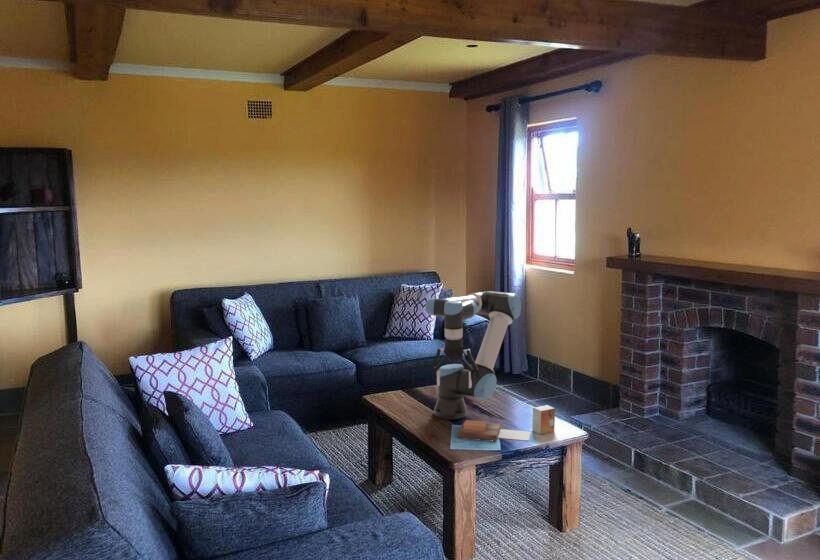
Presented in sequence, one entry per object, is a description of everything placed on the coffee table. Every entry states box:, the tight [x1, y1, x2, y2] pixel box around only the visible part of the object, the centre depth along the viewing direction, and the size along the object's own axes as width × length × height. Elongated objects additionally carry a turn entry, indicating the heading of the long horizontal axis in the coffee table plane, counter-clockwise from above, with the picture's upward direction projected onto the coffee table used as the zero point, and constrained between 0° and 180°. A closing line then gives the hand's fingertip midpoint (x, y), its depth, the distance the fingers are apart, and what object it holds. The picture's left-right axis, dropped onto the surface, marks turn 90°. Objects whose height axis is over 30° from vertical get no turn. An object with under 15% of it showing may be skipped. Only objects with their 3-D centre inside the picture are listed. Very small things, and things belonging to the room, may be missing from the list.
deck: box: [457, 420, 502, 442], centre depth 283 cm, size 14×16×2 cm
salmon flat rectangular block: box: [463, 419, 488, 431], centre depth 283 cm, size 9×6×2 cm, turn 75°
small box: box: [531, 404, 556, 435], centre depth 285 cm, size 8×6×10 cm
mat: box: [497, 428, 532, 442], centre depth 281 cm, size 10×13×1 cm
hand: (454, 386), depth 280 cm, fingers open, 13 cm apart
